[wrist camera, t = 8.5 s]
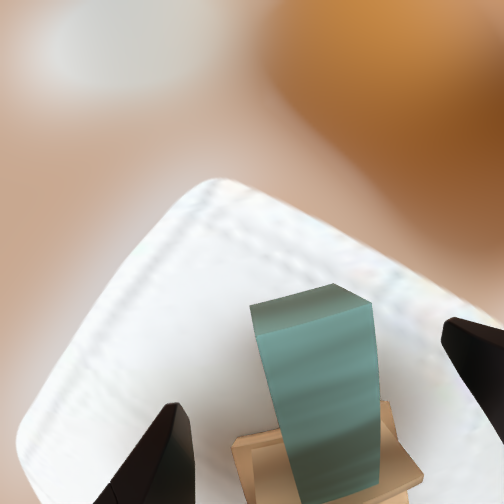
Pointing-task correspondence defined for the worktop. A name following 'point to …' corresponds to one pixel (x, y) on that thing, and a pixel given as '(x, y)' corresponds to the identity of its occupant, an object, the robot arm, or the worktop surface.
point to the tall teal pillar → (325, 404)
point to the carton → (273, 437)
